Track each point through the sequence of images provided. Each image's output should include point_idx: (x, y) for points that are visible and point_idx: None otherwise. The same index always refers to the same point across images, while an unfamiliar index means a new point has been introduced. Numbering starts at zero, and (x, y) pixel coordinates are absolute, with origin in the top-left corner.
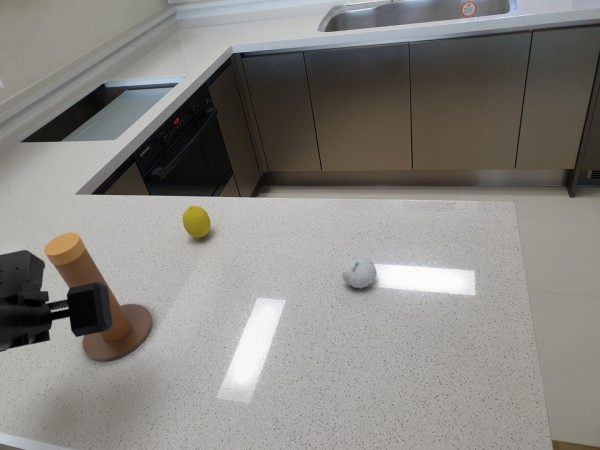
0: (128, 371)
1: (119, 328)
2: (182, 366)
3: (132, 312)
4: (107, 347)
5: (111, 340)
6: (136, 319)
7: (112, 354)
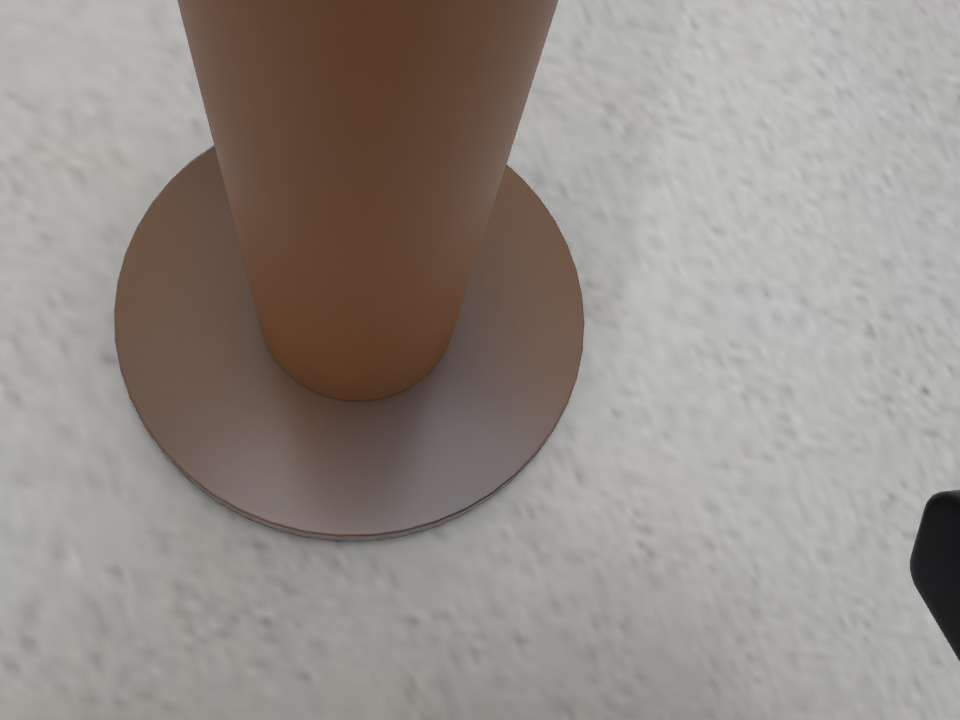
0: (532, 644)
1: (440, 339)
2: (878, 643)
3: None
4: (335, 444)
5: (357, 396)
6: None
7: (393, 509)
